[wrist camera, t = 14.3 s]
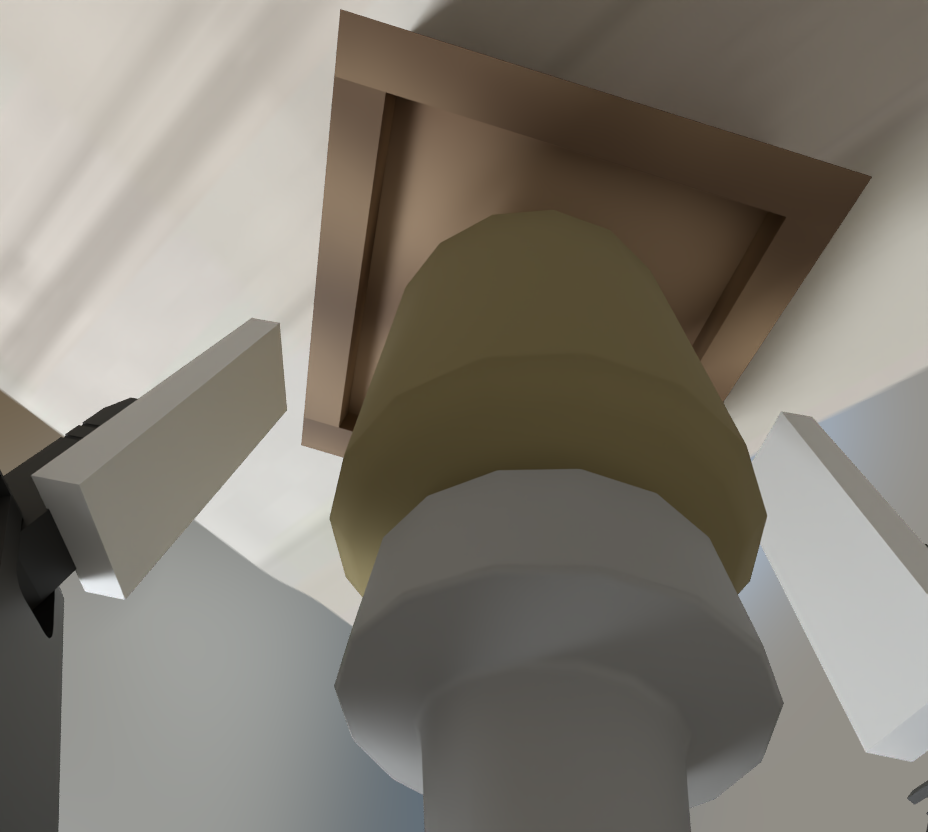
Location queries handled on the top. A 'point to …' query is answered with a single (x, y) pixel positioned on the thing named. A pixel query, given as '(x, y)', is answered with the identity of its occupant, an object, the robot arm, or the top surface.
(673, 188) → the walnut tray
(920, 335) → the top surface
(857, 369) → the top surface
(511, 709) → the squeeze bottle
